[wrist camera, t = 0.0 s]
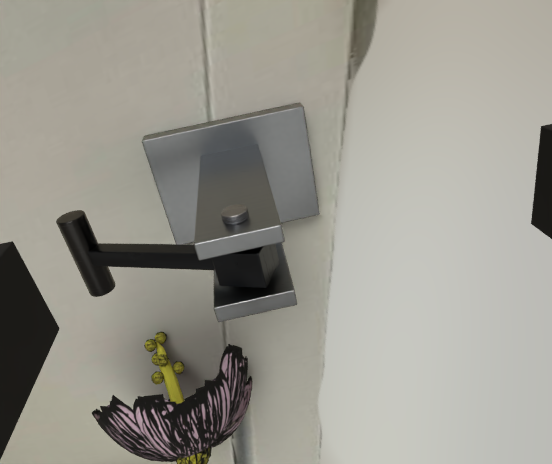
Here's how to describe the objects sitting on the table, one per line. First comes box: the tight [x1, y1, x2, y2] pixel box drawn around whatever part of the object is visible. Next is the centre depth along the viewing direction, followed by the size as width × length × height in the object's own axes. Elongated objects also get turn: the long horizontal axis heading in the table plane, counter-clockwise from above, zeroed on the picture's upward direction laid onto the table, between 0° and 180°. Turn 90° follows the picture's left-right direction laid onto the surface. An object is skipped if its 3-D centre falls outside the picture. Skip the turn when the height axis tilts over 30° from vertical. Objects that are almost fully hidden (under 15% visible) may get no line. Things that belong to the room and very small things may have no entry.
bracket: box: [142, 103, 320, 322], centre depth 30 cm, size 12×9×15 cm
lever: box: [56, 210, 279, 297], centre depth 27 cm, size 13×6×2 cm, turn 100°
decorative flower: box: [92, 332, 252, 464], centre depth 41 cm, size 14×12×15 cm
